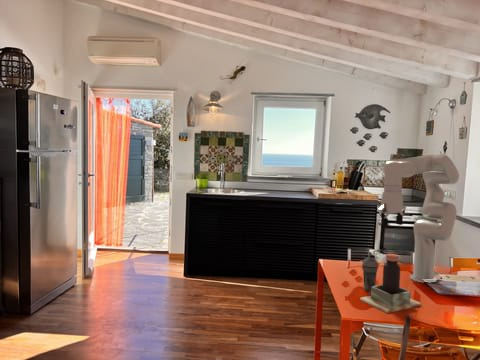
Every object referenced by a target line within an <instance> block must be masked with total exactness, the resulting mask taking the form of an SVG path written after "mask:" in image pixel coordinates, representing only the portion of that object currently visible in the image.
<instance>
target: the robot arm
mask: <svg viewBox="0 0 480 360" xmlns="http://www.w3.org/2000/svg"><path fill="white" fill-rule="evenodd" d="M382 170H383V171H382V172H383V173H384V177H383V178H384V179H383V184H384V186H383V191H382V195H381V200H380V207H379V208H378V209H377V210H378V215H379V216H380V218H381V220H380V221H381V224H380V225H381V227H384V228H388V227H389V215H392V214H396V216H395V224H396V225H399V226H403V221H404V219H403V218H404V214H405V213H406V209H407V206H406V205H404V198H403V197H404V196H403V192H402V189H403V187H402V186H403V178H411V177H413V176H414V175H420V174H422V180H423V182H424V185H425V188H426V193H425V194H426V195H425V197H424V201H423V205H422V210H421V215H422V216H423V217H424V218H426V219H418V220H416V221H415V222H414V223H413V236H414V254H413V257H414V258H413V273H412V274H410V275H409V278H410V279H411V280H412V281H415V282H418V283H421V284H422V283H423V284H425V283H424V282H423V281H422V280H421V279H433V278H434V277H435V276H438V275H440V272H439V271H438V270H436V271H435V256H436V246H435V243H434V242H433V241H439V242H447V241H449V240H450V238H451V236H452V232H453V229H454V225H455V221H456V218H457V207H456V205H455V204H454V203H452V202H446V201H444V199H445V192H444V190H443V188H442V187H441V186H440V184H441V185H455V184H456V183H457V182H458V181H459V179H460V173H459V170H458V168H457V166H456V165H455V164H454V162H453V160H452V159H451V158H450V157H449V156H448V155H446V154H424V155H420V156H414V157H407V158H398V159H391V160H388V161H386V162H385V164H384V165H383V167H382ZM437 220H438V221H437Z"/></svg>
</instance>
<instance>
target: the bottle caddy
mask: <svg viewBox="0 0 480 360" xmlns="http://www.w3.org/2000/svg"><path fill="white" fill-rule="evenodd" d="M382 286H383V284H378V285H375V286H372V287H371V291H370V295H368V296H363V297H359V301H361V302H363V303H366V304H368V305H370V306H371V307H374V308H376V309H378V310H380V311H382V312H384V313H386V314H390V313H393V312H398V311H401V310H402V311H404V310H406V309H411V308H415V307H420V306H422V303H421V302H419V301H417V300H415V299H412V298H411V291H410V290H409V289H406V288H403V287H401V286H399V293H398V294H392V295H391V294H389V293H387V292H384V291H382Z"/></svg>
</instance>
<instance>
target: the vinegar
mask: <svg viewBox="0 0 480 360" xmlns="http://www.w3.org/2000/svg"><path fill="white" fill-rule="evenodd" d="M385 260H386V263H384V265H383V268H382V269H383V271H382V285H383V286H382V291H384V292H387V293H389V294H391V295H392V294H398V293H399V287H401V285H400V282H401V266H400V265H399V264H398V263H399V255H398V254H395V253H386V256H385Z"/></svg>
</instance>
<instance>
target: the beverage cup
mask: <svg viewBox="0 0 480 360" xmlns="http://www.w3.org/2000/svg"><path fill="white" fill-rule="evenodd" d="M367 254H368V256H367V257H366V258H364V259H363V261H362V264H361V265H362V273H363V289H364V290H365V291H368V292H371V287H372V286H376V280H377V272H378V269H379V264H378V260H376V259H375V258H374V257H371V256H370V247H368V248H367Z"/></svg>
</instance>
